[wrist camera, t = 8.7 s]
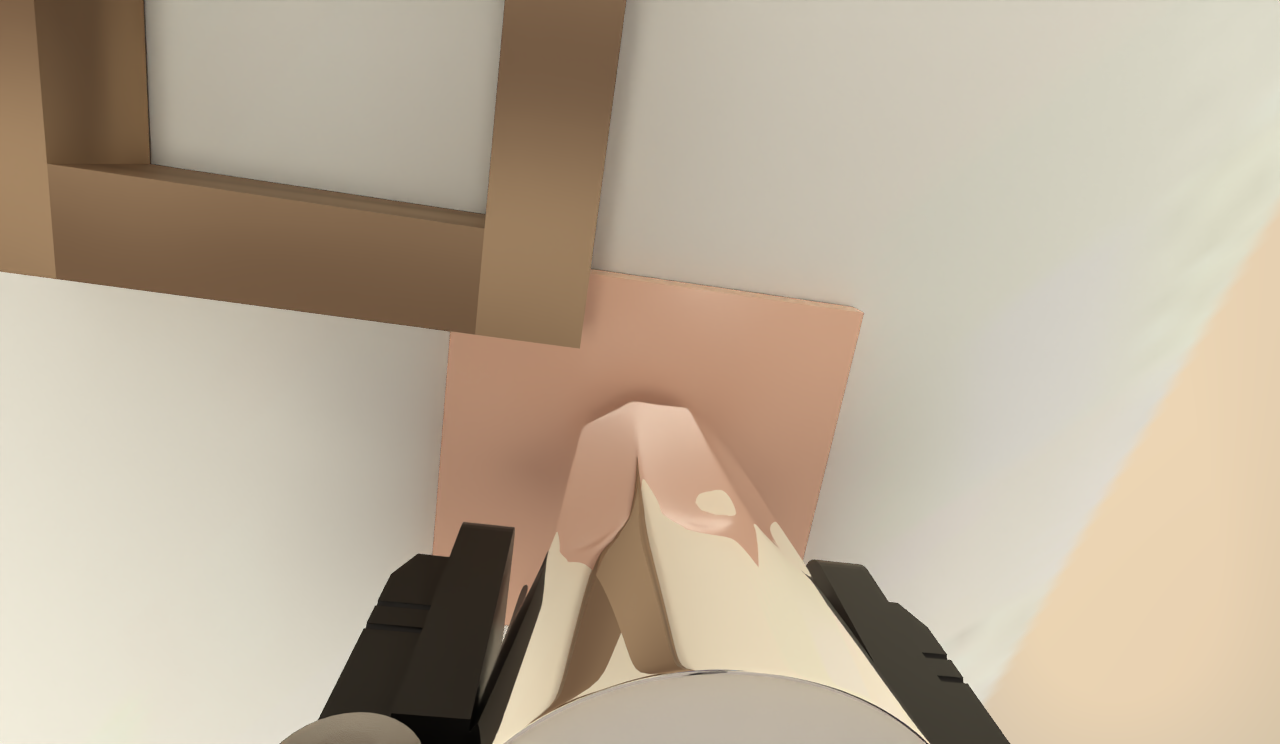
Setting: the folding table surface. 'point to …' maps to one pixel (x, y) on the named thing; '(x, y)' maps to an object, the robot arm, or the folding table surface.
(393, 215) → the square brown frame
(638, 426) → the milkshake
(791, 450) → the coaster
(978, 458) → the folding table surface
